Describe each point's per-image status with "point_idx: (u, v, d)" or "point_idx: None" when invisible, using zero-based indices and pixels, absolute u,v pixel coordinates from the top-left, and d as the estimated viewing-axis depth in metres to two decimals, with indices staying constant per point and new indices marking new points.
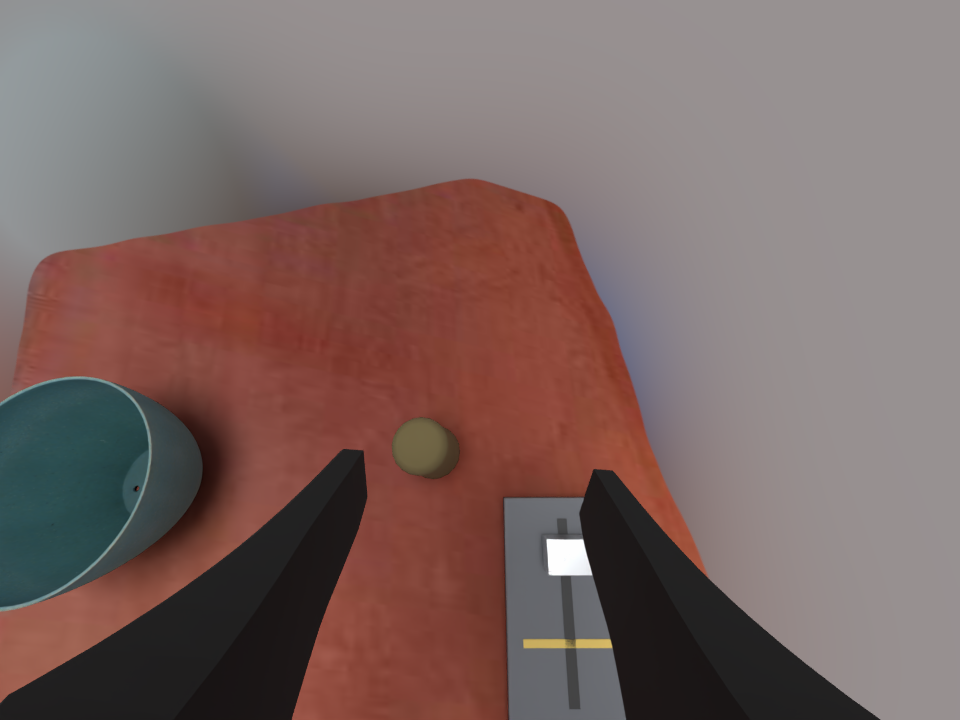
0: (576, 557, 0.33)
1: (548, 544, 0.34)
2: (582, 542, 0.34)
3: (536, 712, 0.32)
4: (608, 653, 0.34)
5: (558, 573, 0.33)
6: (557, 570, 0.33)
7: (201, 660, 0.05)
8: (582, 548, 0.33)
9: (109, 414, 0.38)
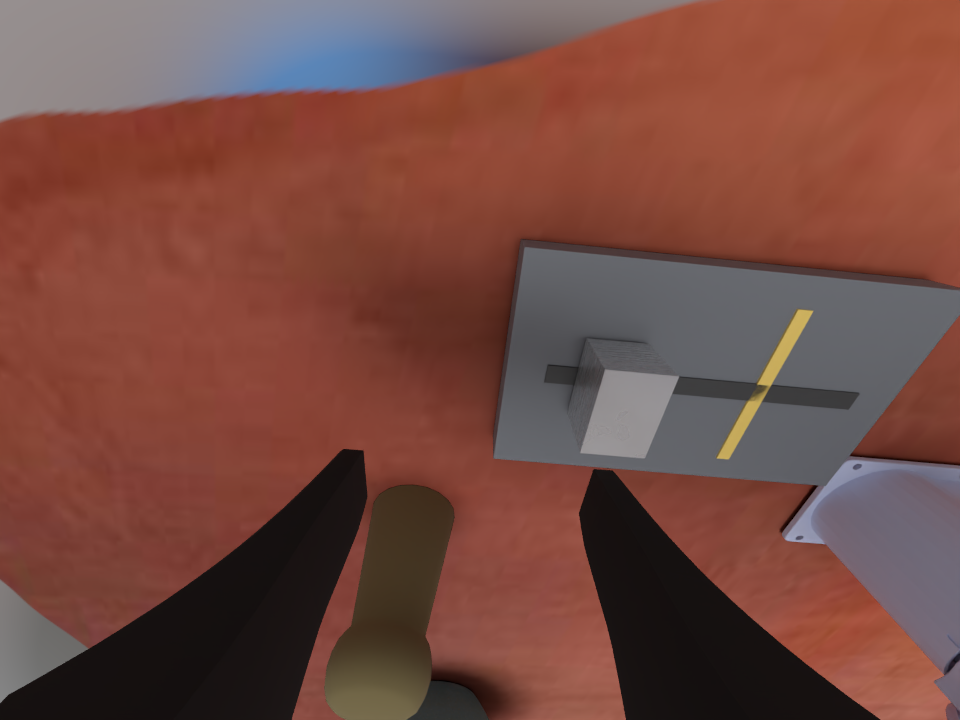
0: (630, 407, 0.15)
1: (589, 452, 0.16)
2: (604, 391, 0.14)
3: (820, 452, 0.20)
4: (810, 330, 0.16)
5: (647, 443, 0.16)
6: (641, 444, 0.16)
7: (201, 660, 0.05)
8: (616, 393, 0.15)
9: None
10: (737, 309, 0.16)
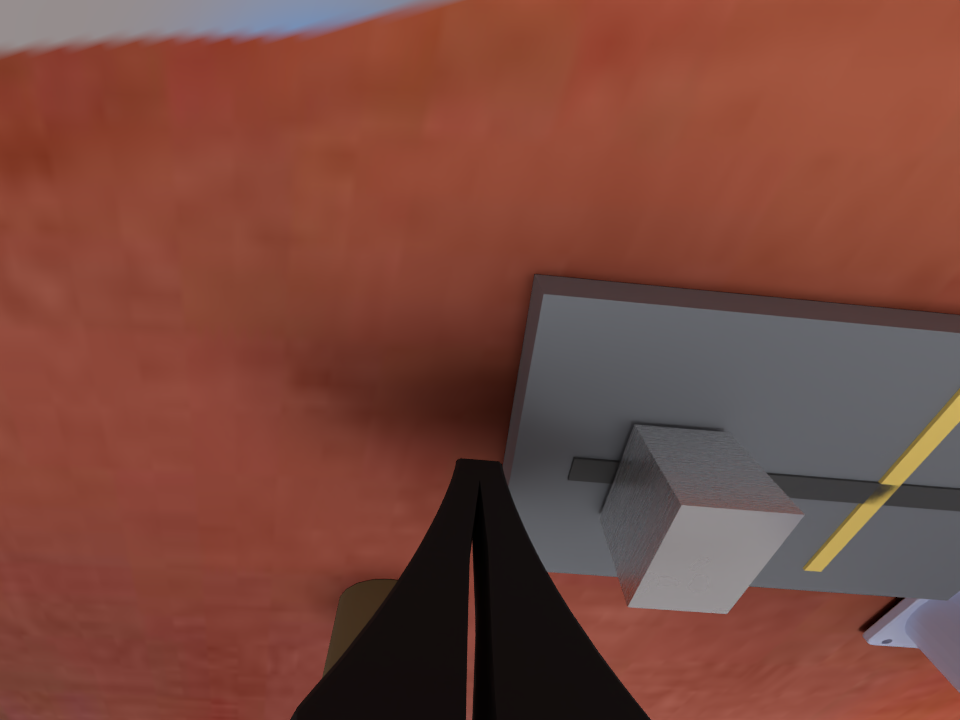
0: (715, 553, 0.09)
1: (642, 606, 0.10)
2: (676, 533, 0.09)
3: (950, 563, 0.14)
4: None
5: (735, 596, 0.10)
6: (725, 598, 0.10)
7: (448, 676, 0.05)
8: (695, 535, 0.09)
9: None
10: (870, 384, 0.10)
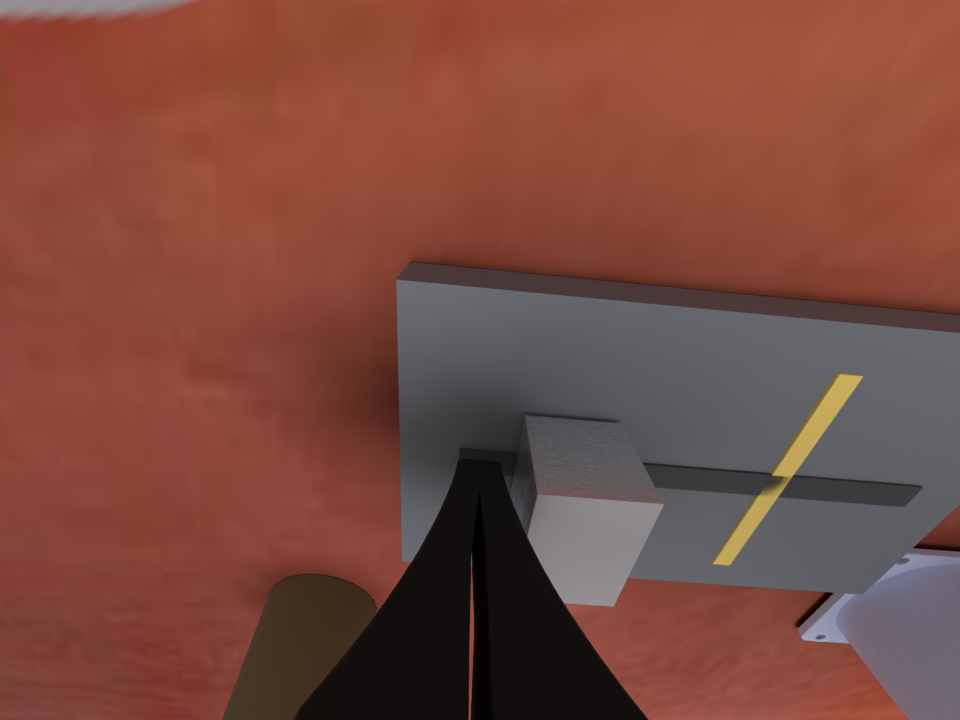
0: (585, 544, 0.09)
1: None
2: (540, 523, 0.09)
3: (858, 556, 0.14)
4: (856, 402, 0.11)
5: (616, 588, 0.10)
6: (607, 590, 0.10)
7: (451, 676, 0.05)
8: (560, 526, 0.09)
9: None
10: (743, 373, 0.10)
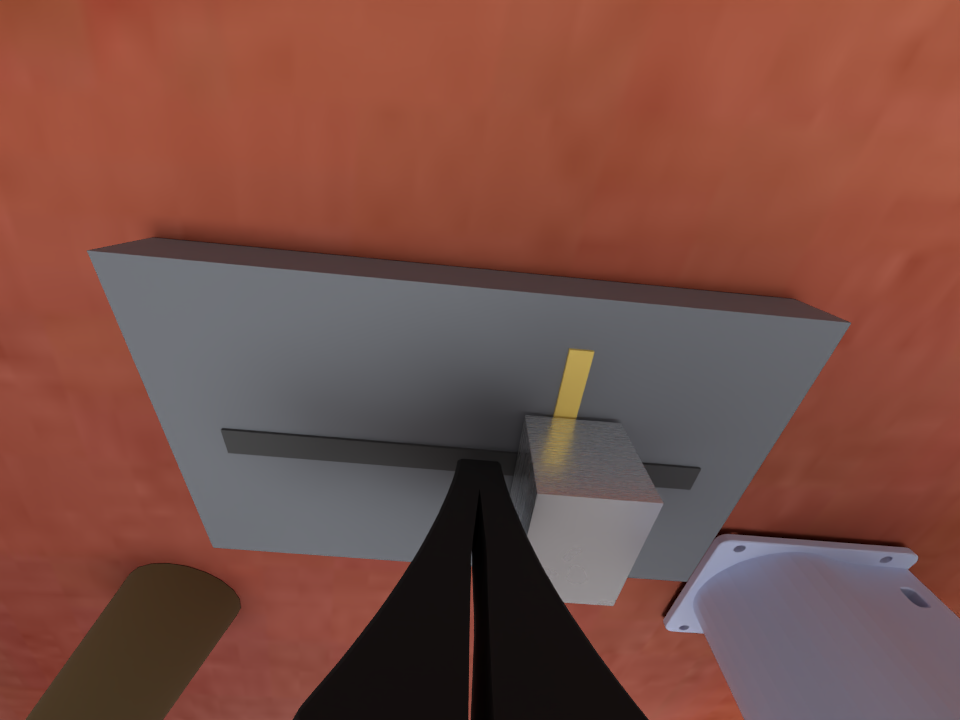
0: (584, 543, 0.09)
1: None
2: (540, 522, 0.09)
3: (667, 541, 0.14)
4: (601, 380, 0.10)
5: (616, 587, 0.10)
6: (607, 589, 0.10)
7: (450, 676, 0.05)
8: (560, 525, 0.09)
9: None
10: (476, 349, 0.10)
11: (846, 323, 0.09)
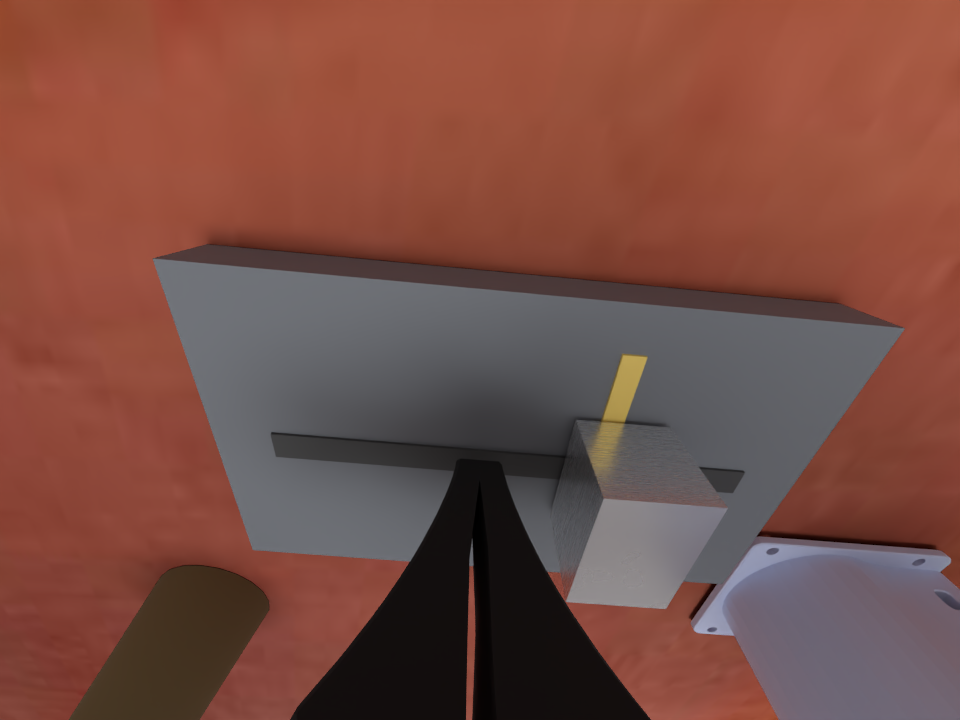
0: (645, 547, 0.09)
1: (580, 601, 0.10)
2: (602, 526, 0.09)
3: None
4: (651, 384, 0.11)
5: (671, 591, 0.10)
6: (662, 593, 0.10)
7: (448, 676, 0.05)
8: (622, 529, 0.09)
9: None
10: (530, 354, 0.10)
11: (899, 328, 0.10)
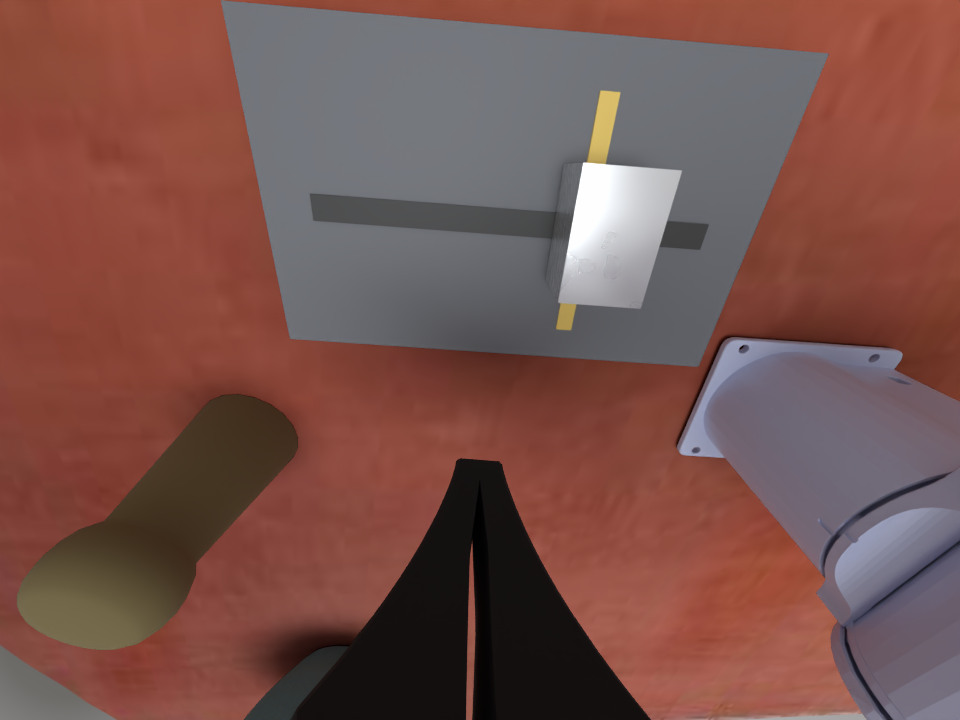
0: (619, 225, 0.11)
1: (570, 300, 0.13)
2: (584, 199, 0.11)
3: (680, 316, 0.16)
4: (625, 125, 0.13)
5: (643, 283, 0.12)
6: (636, 285, 0.12)
7: (448, 676, 0.05)
8: (600, 202, 0.11)
9: None
10: (524, 95, 0.12)
11: (824, 54, 0.12)
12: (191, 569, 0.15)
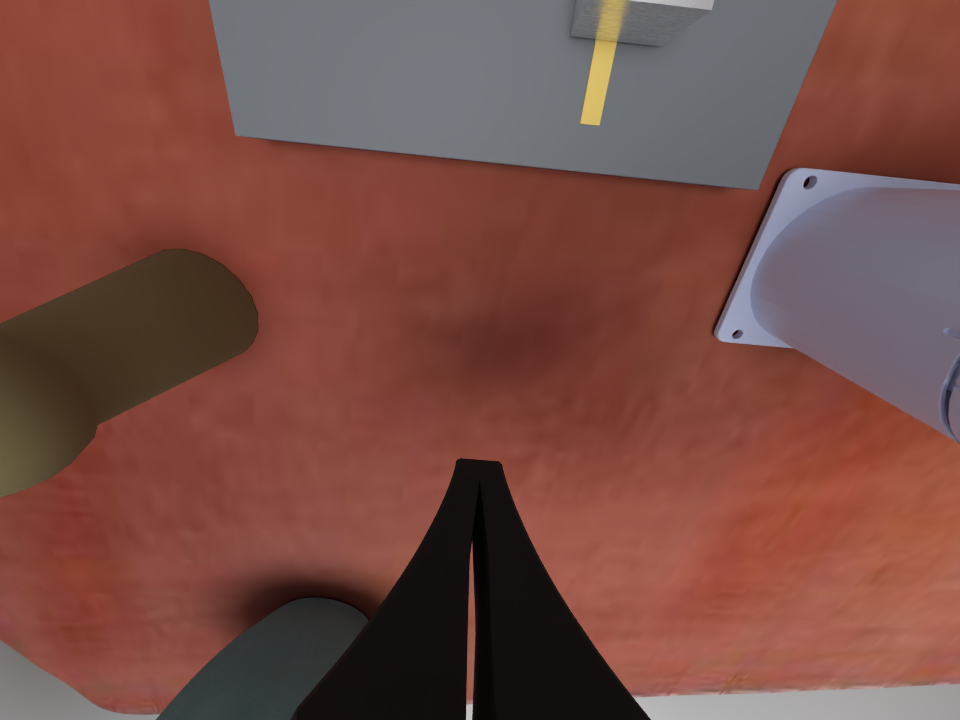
0: None
1: None
2: None
3: (742, 106, 0.12)
4: None
5: None
6: None
7: (448, 676, 0.05)
8: None
9: None
10: None
11: None
12: (87, 408, 0.11)
